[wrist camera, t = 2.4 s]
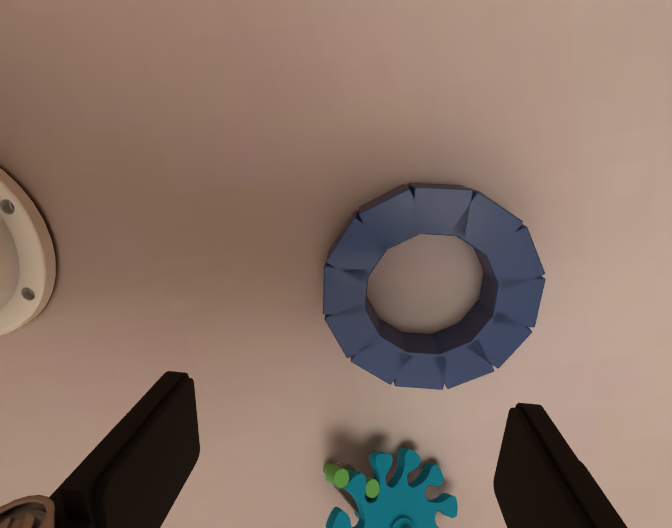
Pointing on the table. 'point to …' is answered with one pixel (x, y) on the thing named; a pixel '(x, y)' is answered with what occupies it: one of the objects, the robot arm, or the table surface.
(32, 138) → the table surface
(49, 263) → the robot arm
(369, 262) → the ring
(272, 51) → the table surface
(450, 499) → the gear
